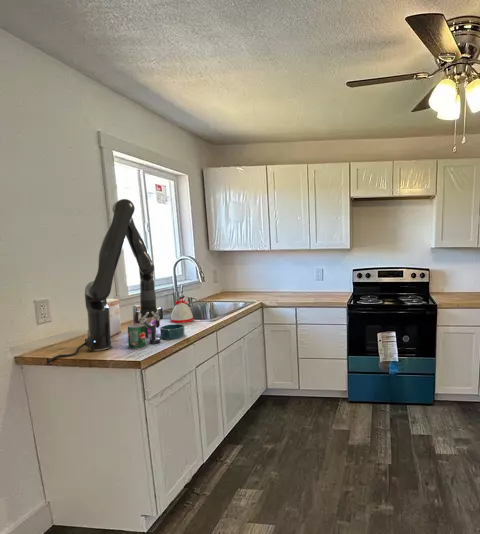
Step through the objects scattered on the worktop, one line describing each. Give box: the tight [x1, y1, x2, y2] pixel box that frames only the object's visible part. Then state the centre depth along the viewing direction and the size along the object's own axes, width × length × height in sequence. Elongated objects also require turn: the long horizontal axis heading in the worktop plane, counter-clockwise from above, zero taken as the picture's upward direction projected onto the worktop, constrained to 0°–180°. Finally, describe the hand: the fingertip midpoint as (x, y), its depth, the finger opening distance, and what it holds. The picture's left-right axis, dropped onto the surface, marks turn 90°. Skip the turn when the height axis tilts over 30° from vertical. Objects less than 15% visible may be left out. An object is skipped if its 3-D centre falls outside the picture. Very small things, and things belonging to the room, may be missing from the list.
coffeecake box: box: [106, 298, 122, 337], centre depth 193 cm, size 15×7×20 cm, turn 175°
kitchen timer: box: [170, 297, 194, 324], centre depth 229 cm, size 14×14×15 cm
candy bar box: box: [132, 304, 157, 334], centre depth 197 cm, size 11×5×16 cm, turn 141°
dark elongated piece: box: [143, 321, 161, 345], centre depth 183 cm, size 16×5×9 cm, turn 43°
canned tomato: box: [127, 323, 147, 350], centre depth 172 cm, size 8×8×11 cm
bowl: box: [159, 323, 186, 340], centre depth 190 cm, size 12×13×6 cm
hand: (149, 328), depth 184 cm, fingers open, 8 cm apart
